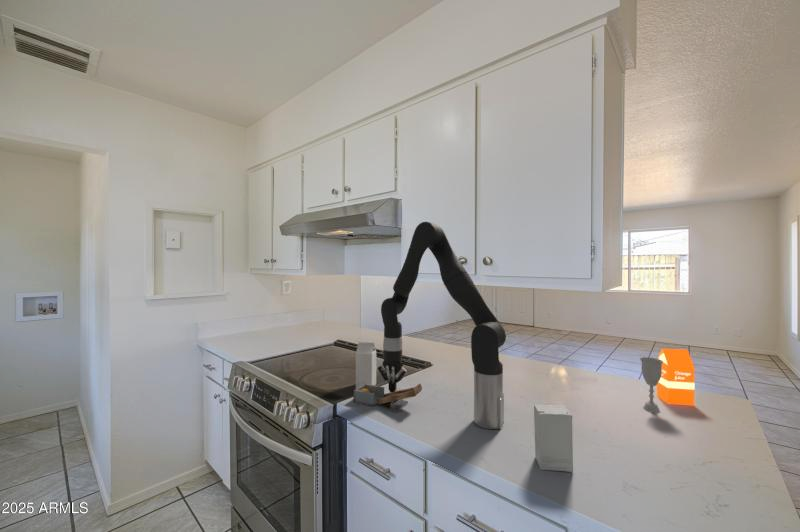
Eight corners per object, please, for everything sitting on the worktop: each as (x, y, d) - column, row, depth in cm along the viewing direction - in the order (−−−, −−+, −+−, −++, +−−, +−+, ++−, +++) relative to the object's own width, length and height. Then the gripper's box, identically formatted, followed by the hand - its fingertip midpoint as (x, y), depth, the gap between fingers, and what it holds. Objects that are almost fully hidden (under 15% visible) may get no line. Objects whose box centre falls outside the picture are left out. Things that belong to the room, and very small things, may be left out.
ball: (372, 395, 130) (370, 386, 130) (367, 399, 127) (365, 389, 127) (364, 396, 131) (362, 387, 132) (360, 399, 128) (358, 390, 129)
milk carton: (371, 390, 139) (371, 344, 139) (355, 388, 140) (355, 343, 140) (376, 384, 146) (376, 341, 146) (360, 382, 147) (360, 340, 147)
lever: (428, 385, 127) (426, 379, 127) (416, 396, 116) (414, 389, 117) (391, 393, 134) (390, 387, 134) (377, 404, 123) (375, 397, 124)
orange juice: (694, 405, 124) (694, 352, 124) (667, 403, 126) (667, 351, 126) (681, 397, 132) (681, 347, 131) (656, 395, 133) (656, 346, 133)
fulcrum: (408, 402, 126) (408, 395, 126) (397, 412, 118) (397, 404, 118) (396, 400, 128) (396, 393, 128) (385, 409, 120) (385, 401, 120)
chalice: (642, 403, 125) (642, 356, 125) (664, 409, 121) (664, 359, 121) (637, 409, 120) (638, 360, 120) (661, 415, 116) (661, 364, 115)
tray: (384, 398, 130) (384, 387, 130) (373, 406, 123) (373, 394, 123) (364, 394, 134) (364, 383, 134) (353, 401, 127) (353, 390, 127)
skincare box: (566, 460, 89) (566, 404, 89) (574, 474, 83) (574, 414, 83) (533, 457, 91) (533, 402, 90) (538, 470, 85) (538, 412, 85)
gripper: (411, 347, 132) (411, 391, 132) (382, 344, 137) (382, 385, 138) (403, 352, 125) (403, 398, 125) (373, 348, 131) (373, 391, 131)
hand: (392, 391), depth 131 cm, fingers closed
